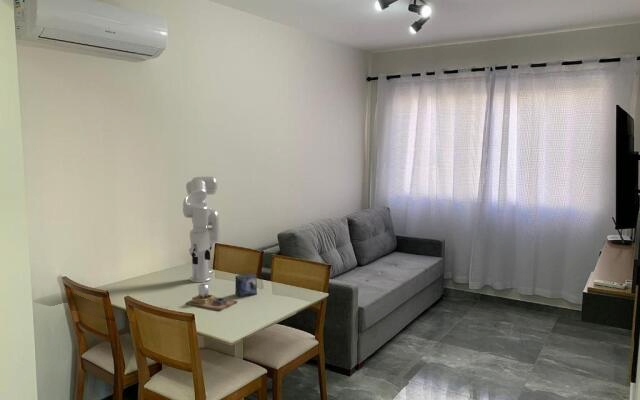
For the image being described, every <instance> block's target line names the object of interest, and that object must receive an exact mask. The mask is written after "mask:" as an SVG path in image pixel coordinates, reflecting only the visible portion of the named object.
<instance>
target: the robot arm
mask: <svg viewBox="0 0 640 400" xmlns="http://www.w3.org/2000/svg"><path fill="white" fill-rule="evenodd" d="M185 188H186V193H187V195H186V196H185V197H184V199H183V203H182V212H183V215H184V217H185V218H188V219H191V223H192V229H191V230H190V232H189V241H190V248H189V249H188V251H189V254H190V256H191V273H192V274H191V275H192V276H191V277H189V281H190V282H192V283H205V282H209V281H211V280H212V276H210V275H211V274H213V273H214V270H212V269H211V270H209V261H211V251H212V248H213V244H217V243H219V242H220V239H221V237H220V235H221V233H220V215H219V212H218V210H216V209H212V207H211V205H210V204H209V203H207V202H206V199H207V197H208V196H209V195H210V196H211V195H215V194H216V193H217V191H218V181H217V179H216V178H215V177H214V176H195V177H193V178H192V179H191V181H188V182H187V183H186V185H185ZM210 226H211V227H210Z"/></svg>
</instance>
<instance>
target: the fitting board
mask: <svg viewBox="0 0 640 400" xmlns="http://www.w3.org/2000/svg"><path fill="white" fill-rule="evenodd" d="M236 304H238V301H237V300H233V299H228V298H224V297H217V296H216V295H215V294H213V295H212V294H209V298H207V299H205V300H204V299H199V294H198V295H196V296H193V297H192V298H191V300H189V301H187V302H185V305H187V306H192V307H196V308H202V309H207V310H212V311H218V312H222V311H223V310H225V309H228V308H230V307H232V306H234V305H236Z"/></svg>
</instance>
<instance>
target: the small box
mask: <svg viewBox="0 0 640 400" xmlns="http://www.w3.org/2000/svg"><path fill="white" fill-rule="evenodd" d="M234 277H235V292H234V293H235V295H236V296H237V297H238V298H241V297H248V296H257V294H258V286H257V285H258V276H257V275H256V274H254V273H248V274H239V275H234Z"/></svg>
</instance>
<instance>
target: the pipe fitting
mask: <svg viewBox="0 0 640 400" xmlns="http://www.w3.org/2000/svg"><path fill="white" fill-rule="evenodd" d="M197 287H198V289H197V290H198V295H199V299H204V300H205V299H207V298H209V295H210V294H209V284H207V283H200V284H198V286H197Z"/></svg>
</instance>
